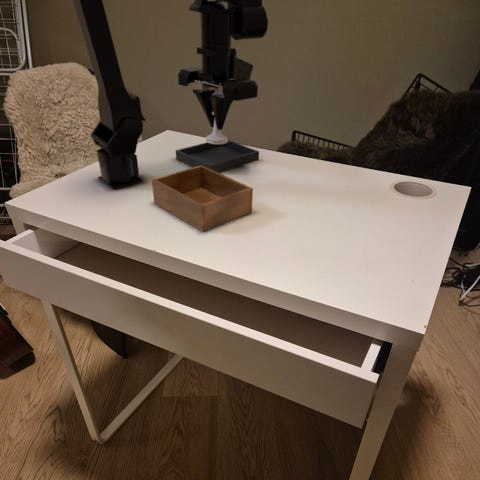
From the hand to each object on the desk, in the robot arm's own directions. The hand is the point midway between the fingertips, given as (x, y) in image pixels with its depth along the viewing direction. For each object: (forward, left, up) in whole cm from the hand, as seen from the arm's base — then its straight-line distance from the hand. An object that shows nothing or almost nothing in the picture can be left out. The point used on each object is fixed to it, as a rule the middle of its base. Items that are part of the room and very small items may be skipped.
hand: (216, 128), depth 89 cm
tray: (0, 0, -7) cm, 7 cm away
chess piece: (0, 0, -3) cm, 3 cm away
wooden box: (-18, -17, -7) cm, 26 cm away
